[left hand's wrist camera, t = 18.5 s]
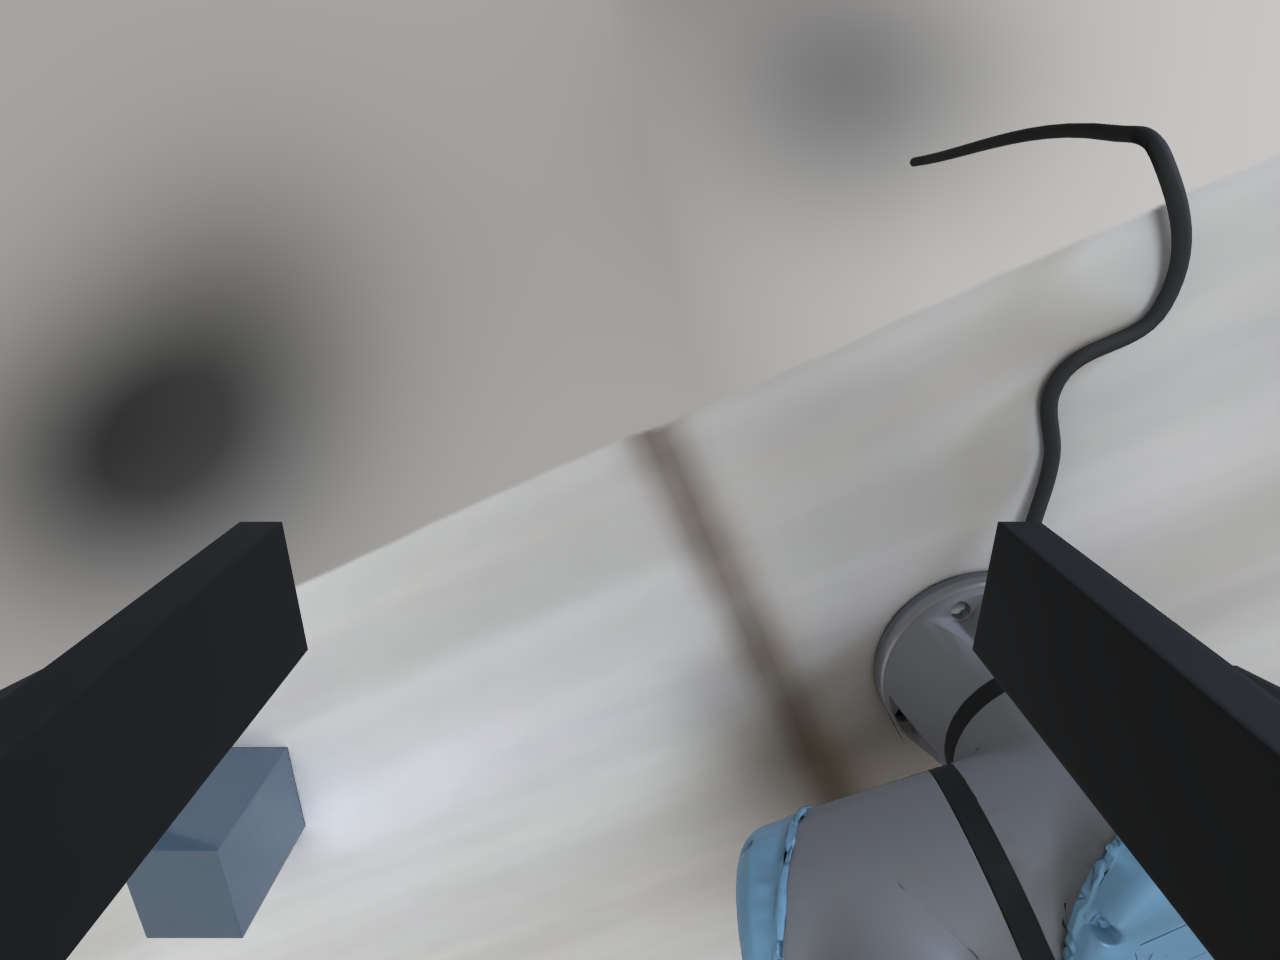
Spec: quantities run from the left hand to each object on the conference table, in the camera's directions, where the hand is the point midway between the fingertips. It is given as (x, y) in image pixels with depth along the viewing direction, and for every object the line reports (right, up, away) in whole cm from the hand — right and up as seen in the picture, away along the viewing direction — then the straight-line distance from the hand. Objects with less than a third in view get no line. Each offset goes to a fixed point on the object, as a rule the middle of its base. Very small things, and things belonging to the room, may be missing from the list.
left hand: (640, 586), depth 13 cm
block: (-32, -24, +44) cm, 60 cm away
